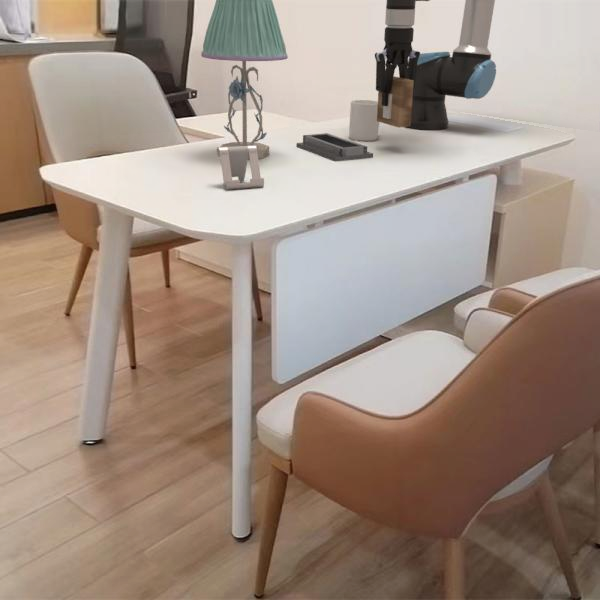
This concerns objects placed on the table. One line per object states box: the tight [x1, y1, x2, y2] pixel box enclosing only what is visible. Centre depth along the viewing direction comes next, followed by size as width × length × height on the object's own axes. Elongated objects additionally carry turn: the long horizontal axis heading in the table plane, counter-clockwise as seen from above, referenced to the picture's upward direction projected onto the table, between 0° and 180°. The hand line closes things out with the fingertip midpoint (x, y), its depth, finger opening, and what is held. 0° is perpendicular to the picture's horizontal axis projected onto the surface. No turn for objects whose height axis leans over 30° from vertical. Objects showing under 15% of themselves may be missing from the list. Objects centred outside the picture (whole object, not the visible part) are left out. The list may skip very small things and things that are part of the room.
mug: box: [348, 99, 381, 142], centre depth 218 cm, size 9×12×11 cm
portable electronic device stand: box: [216, 145, 265, 191], centre depth 163 cm, size 9×8×8 cm
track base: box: [296, 132, 374, 162], centre depth 200 cm, size 12×20×3 cm, turn 30°
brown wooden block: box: [377, 75, 414, 128], centre depth 200 cm, size 4×10×12 cm, turn 30°
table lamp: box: [200, 0, 289, 161], centre depth 186 cm, size 22×22×40 cm
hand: (393, 117), depth 202 cm, fingers closed on brown wooden block, 4 cm apart
